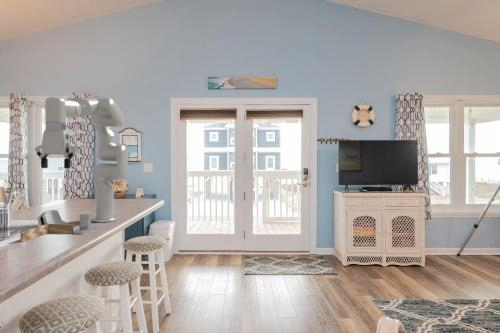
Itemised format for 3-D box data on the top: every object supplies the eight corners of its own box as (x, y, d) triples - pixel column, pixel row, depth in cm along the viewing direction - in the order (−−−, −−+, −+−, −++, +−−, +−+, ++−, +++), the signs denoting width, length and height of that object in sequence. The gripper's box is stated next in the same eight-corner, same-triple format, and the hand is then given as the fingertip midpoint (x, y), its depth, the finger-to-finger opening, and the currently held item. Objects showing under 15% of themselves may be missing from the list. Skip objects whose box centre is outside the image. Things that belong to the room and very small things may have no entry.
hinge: (53, 231, 156) (45, 212, 156) (42, 235, 156) (34, 215, 155) (66, 224, 173) (59, 206, 172) (57, 227, 172) (50, 209, 171)
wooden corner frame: (48, 232, 156) (48, 223, 156) (73, 232, 156) (73, 224, 155) (20, 241, 138) (20, 232, 138) (48, 242, 138) (48, 232, 137)
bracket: (82, 230, 161) (82, 213, 161) (91, 230, 161) (91, 213, 161) (73, 233, 153) (73, 216, 153) (82, 234, 153) (82, 216, 153)
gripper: (80, 128, 143) (80, 168, 144) (41, 128, 144) (41, 167, 144) (71, 126, 136) (71, 168, 136) (29, 126, 136) (29, 168, 137)
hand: (55, 168), depth 140 cm, fingers open, 9 cm apart
